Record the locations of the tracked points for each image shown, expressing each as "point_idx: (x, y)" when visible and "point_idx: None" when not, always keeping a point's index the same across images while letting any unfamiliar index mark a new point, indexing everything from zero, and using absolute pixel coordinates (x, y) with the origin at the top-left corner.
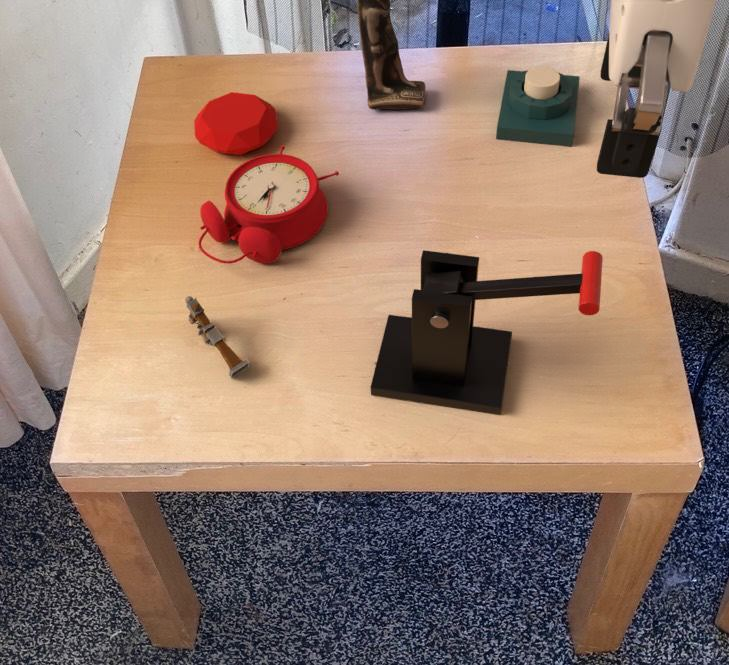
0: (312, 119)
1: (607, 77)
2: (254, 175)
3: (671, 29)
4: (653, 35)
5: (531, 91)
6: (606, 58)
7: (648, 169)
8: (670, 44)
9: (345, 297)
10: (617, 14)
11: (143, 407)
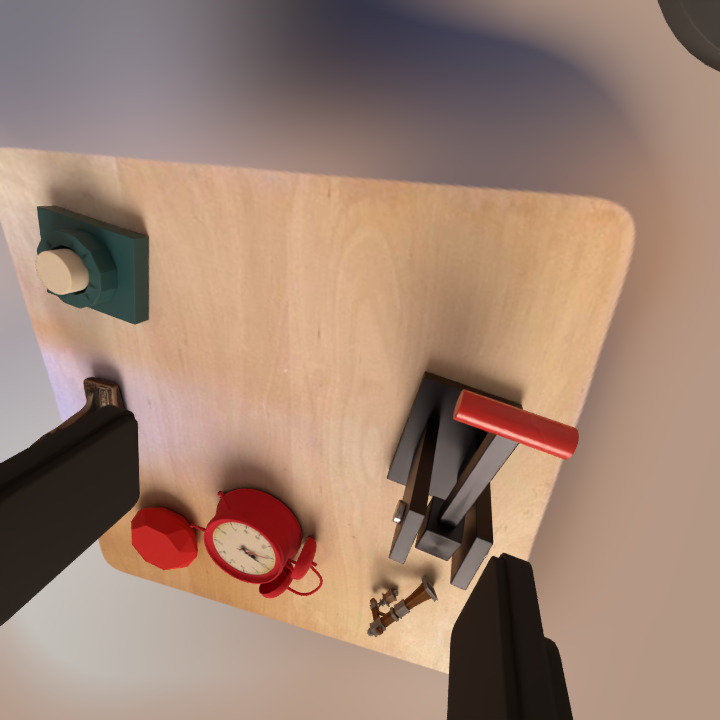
0: (147, 474)
1: (131, 497)
2: (229, 556)
3: None
4: None
5: (79, 287)
6: (80, 553)
7: (535, 588)
8: None
9: (355, 495)
10: None
11: (450, 638)
